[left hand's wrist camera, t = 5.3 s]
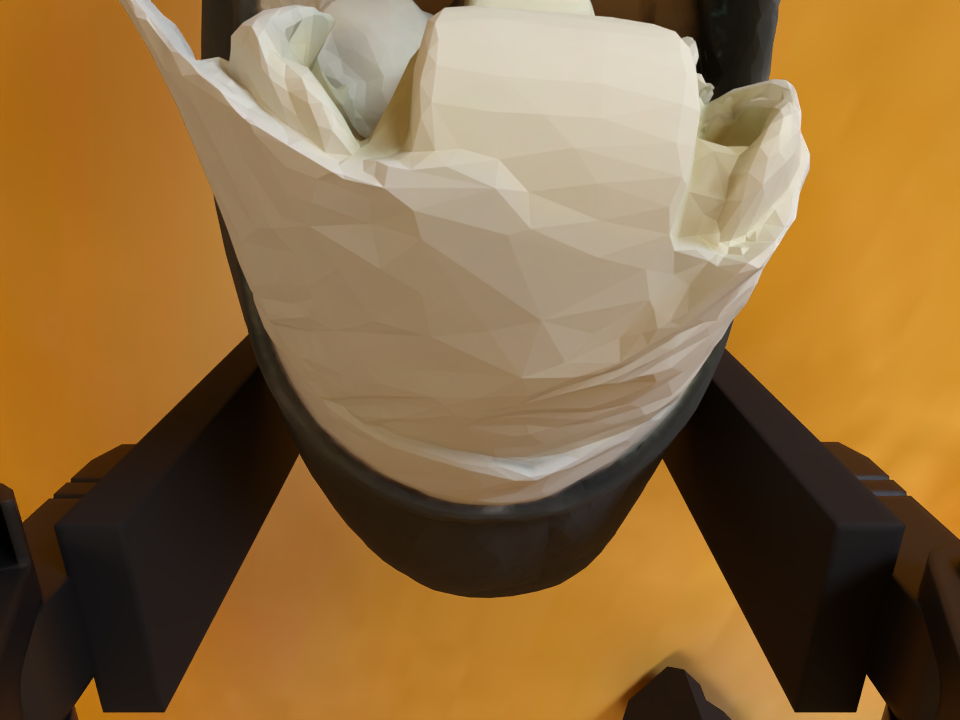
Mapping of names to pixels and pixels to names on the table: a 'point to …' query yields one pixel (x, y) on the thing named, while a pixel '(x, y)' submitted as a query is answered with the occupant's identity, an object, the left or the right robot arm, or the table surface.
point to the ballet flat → (488, 248)
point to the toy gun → (672, 699)
